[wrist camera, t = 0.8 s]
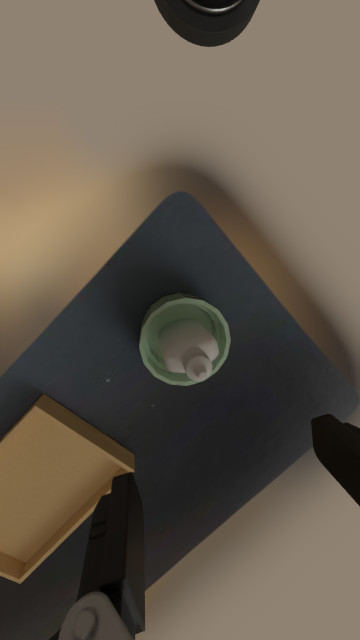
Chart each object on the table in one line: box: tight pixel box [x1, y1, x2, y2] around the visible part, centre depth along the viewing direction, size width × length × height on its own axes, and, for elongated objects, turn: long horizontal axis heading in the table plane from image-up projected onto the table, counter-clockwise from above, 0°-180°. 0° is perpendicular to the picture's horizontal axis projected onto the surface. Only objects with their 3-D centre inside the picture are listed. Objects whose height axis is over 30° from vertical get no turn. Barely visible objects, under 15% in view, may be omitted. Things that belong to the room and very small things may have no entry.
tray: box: [0, 394, 135, 583], centre depth 33 cm, size 23×15×3 cm, turn 135°
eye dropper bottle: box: [158, 319, 219, 381], centre depth 26 cm, size 4×6×12 cm
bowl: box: [139, 293, 231, 386], centre depth 30 cm, size 10×10×4 cm
